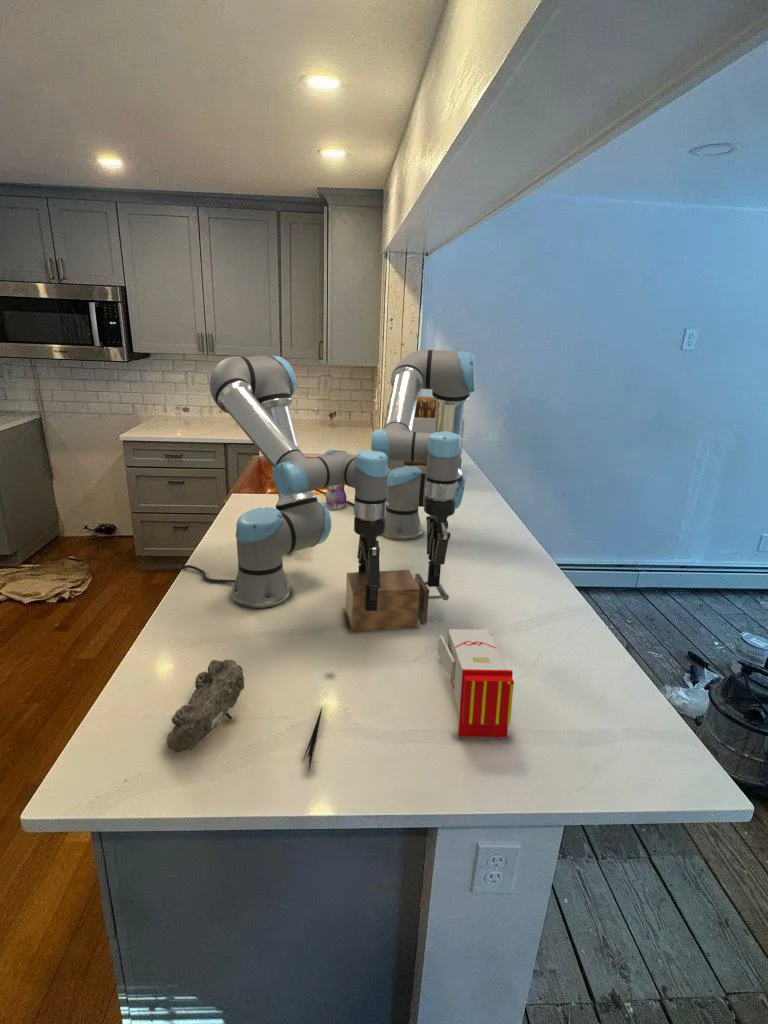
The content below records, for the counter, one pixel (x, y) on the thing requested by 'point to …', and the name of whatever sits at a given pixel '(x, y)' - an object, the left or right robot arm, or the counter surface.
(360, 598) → the cabinet
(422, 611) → the drawer
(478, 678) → the toy
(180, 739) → the fossil
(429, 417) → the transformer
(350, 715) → the counter surface
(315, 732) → the feather
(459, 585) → the counter surface
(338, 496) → the figurine
